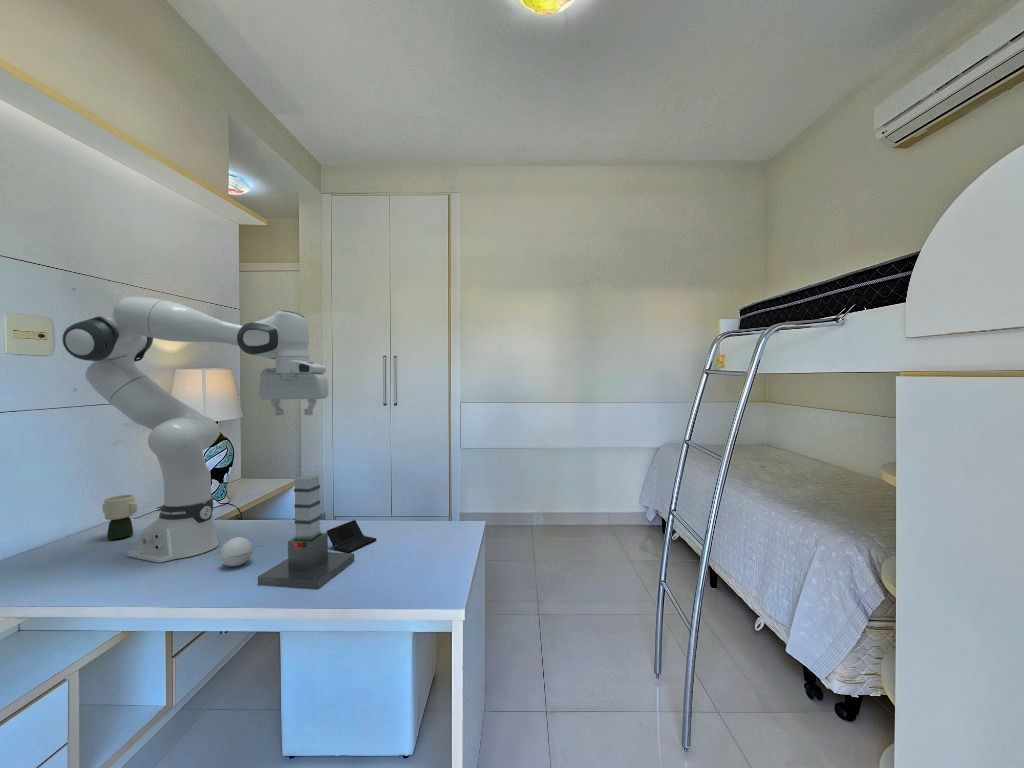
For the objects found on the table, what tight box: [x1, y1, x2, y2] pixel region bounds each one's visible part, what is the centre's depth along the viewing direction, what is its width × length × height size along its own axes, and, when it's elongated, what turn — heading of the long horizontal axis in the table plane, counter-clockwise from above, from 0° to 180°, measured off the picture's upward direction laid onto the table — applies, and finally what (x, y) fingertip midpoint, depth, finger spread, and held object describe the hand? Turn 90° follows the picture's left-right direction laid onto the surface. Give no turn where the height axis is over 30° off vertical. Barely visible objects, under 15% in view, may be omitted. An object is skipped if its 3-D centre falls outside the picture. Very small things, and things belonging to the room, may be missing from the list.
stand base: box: [257, 532, 355, 590], centre depth 111 cm, size 16×16×9 cm
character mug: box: [102, 494, 138, 540], centre depth 139 cm, size 11×7×13 cm, turn 88°
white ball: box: [219, 536, 265, 568], centre depth 116 cm, size 10×7×7 cm
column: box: [293, 475, 322, 541], centre depth 111 cm, size 4×4×16 cm
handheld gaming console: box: [325, 519, 377, 553], centre depth 129 cm, size 12×7×10 cm
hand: (293, 415), depth 125 cm, fingers open, 8 cm apart
